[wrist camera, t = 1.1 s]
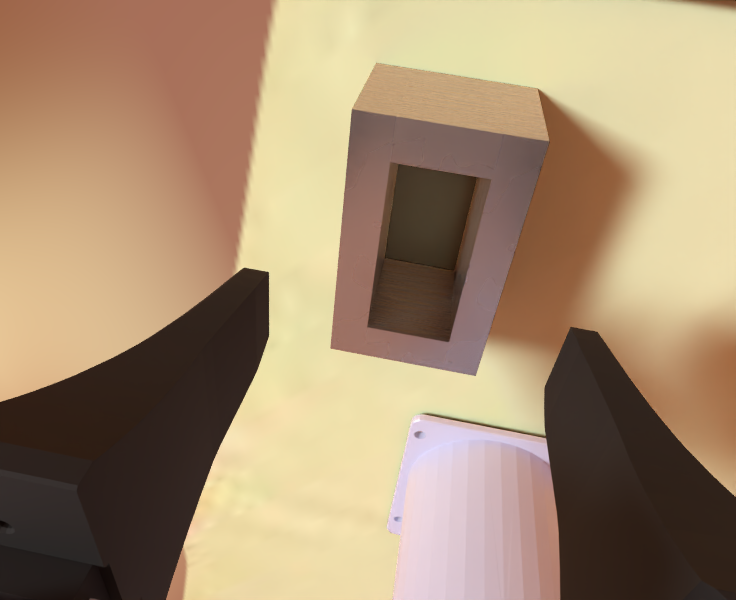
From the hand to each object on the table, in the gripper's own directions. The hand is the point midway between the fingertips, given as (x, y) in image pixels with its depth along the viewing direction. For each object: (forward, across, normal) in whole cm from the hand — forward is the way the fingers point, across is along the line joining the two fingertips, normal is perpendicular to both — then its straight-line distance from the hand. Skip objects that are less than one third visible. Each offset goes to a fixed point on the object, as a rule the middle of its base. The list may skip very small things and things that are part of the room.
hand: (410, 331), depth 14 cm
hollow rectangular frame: (+7, 0, 0) cm, 7 cm away
